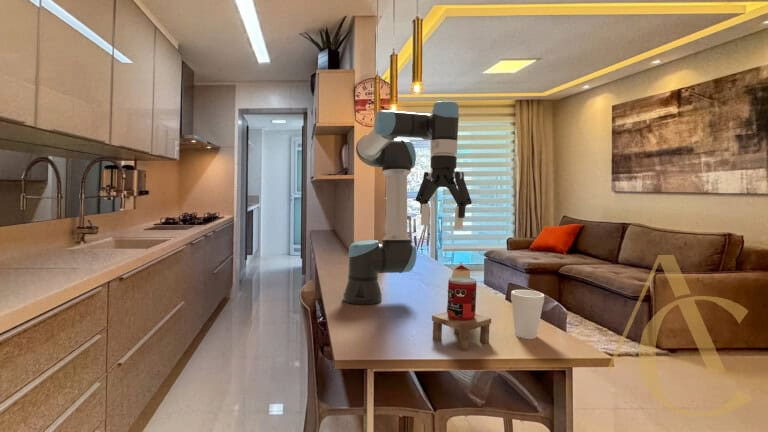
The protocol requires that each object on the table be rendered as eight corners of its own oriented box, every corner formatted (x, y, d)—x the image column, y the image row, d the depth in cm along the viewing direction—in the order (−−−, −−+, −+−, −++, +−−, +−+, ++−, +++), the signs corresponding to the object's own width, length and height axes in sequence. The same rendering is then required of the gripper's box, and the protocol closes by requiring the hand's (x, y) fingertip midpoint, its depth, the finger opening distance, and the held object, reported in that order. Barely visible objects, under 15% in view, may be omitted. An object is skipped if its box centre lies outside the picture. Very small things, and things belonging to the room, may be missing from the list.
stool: (431, 339, 121) (432, 315, 120) (457, 331, 128) (458, 308, 128) (464, 351, 112) (465, 326, 111) (490, 342, 119) (491, 318, 119)
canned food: (442, 314, 122) (443, 277, 121) (465, 312, 125) (466, 275, 124) (456, 322, 115) (458, 282, 114) (480, 319, 118) (482, 281, 117)
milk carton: (473, 322, 138) (475, 263, 137) (445, 320, 140) (447, 261, 139) (472, 315, 147) (475, 259, 146) (446, 312, 148) (448, 257, 147)
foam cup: (506, 329, 131) (508, 289, 130) (535, 330, 131) (537, 290, 130) (514, 340, 122) (516, 296, 121) (546, 341, 121) (548, 297, 121)
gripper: (406, 156, 129) (403, 223, 131) (469, 152, 110) (465, 231, 111) (423, 157, 134) (420, 223, 135) (486, 154, 115) (482, 230, 116)
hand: (440, 227), depth 123 cm, fingers open, 13 cm apart
